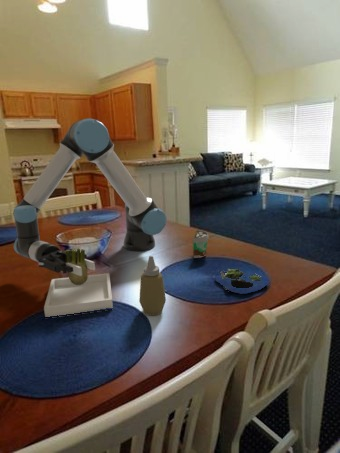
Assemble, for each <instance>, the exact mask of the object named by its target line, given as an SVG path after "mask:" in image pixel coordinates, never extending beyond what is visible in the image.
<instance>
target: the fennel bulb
mask: <svg viewBox="0 0 340 453" xmlns="http://www.w3.org/2000/svg"><path fill="white" fill-rule="evenodd" d="M72 249H73V250H72V259H71V254H70V250H69V249H66V250H65V252H66V256H67V262H66V264H67V263H68V262H69V263H71V264H74V265H77V266H79V267H82V276H79V275H76V274H74V273H71V272H67V276H68V277H69V279H70V281H71V283H73V284H75V285H82V284H84V283H85V282H86V281H87V278H88V268H86V264H85V254H86V249H83V248H79V247H77V248H76V249H74V248H72ZM76 251H77V261H76ZM80 253H81V254H80Z"/></svg>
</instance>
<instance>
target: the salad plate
mask: <svg viewBox="0 0 340 453" xmlns="http://www.w3.org/2000/svg"><path fill="white" fill-rule="evenodd" d="M223 271H224V270H223ZM223 271H221V272H220V273H221V276H222V279H223V280H225V277H228V278H231V279H236V280H231V285H232V286H233V287H236V288H249V287H252V286H253V283H250V282H246V281H245V280H243V279H239V277H241V276H242V275H243V274H244V273H243V272H242V271H240V270H238V268H235V269H230V268H227V271H226V272H227V273H225V275H224V273H223ZM256 275H257V274H256ZM256 275H253V276H250V277H252V278H250V277H249V279H252V281H254V280H255V281H261V280H260V277H261V276H260V275H258V276H256ZM259 276H260V277H259ZM237 279H239V280H237ZM225 288H226V287H225ZM225 288H224V289H225ZM226 290H227V289H225V291H226Z"/></svg>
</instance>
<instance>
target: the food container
mask: <svg viewBox="0 0 340 453" xmlns="http://www.w3.org/2000/svg"><path fill="white" fill-rule="evenodd" d="M195 231H196V232H195V234H194V237H192V239H193V240H192V245H193V246H192V250H193V251H192V253H193V257H199V256H204V255H205V254H206V255H207V248H208V241H209V239H210V237H209V233H208V232H207V231H205V230H201V229H196V230H195Z"/></svg>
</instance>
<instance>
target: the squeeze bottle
mask: <svg viewBox="0 0 340 453" xmlns="http://www.w3.org/2000/svg"><path fill="white" fill-rule="evenodd" d="M163 277H164V276H163V274H162V273H161V272H160V266H158V265H156V262H155V259H154V256H153V255H150V256H148V261H147V265H146V266H144V267H143V273H142V274H141V276H140V284H139V285H140V286H139V287H140V288H139V299H138V301H139V304H140V306H141V308H142V309H141V310H143V313H144V314H145V315H147V316H157V315H160V314H161V313H162V312H163V310H164V306H165V305H166V300H167V299H166V297H167V296H166V290H165V284H164V283H165V282H164V278H163Z"/></svg>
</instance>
